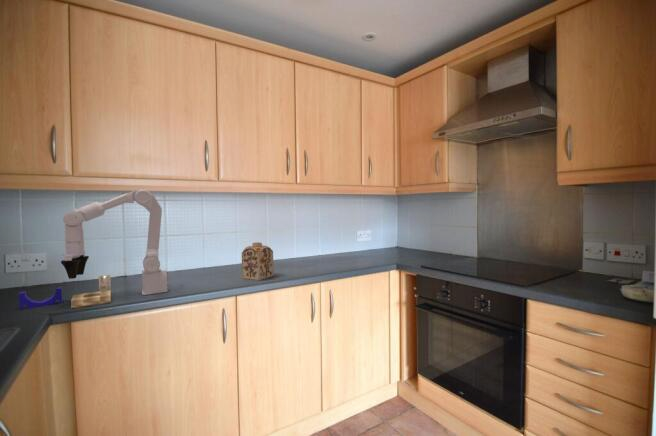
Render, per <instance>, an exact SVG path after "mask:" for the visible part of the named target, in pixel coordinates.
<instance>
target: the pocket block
mask: <svg viewBox="0 0 656 436" xmlns="http://www.w3.org/2000/svg"><path fill="white" fill-rule="evenodd" d="M111 295H112V290H108V291H101V292H99V291H95V292H85V293H79V294H73V295H72V298H71V300H70V307H71V308H70V309H71V310H73V309H72V308H74V309H80V308H81V309H82V308H89V307H94V306H101V305H106V304H107V305H108V304H111V303H112V296H111Z"/></svg>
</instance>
